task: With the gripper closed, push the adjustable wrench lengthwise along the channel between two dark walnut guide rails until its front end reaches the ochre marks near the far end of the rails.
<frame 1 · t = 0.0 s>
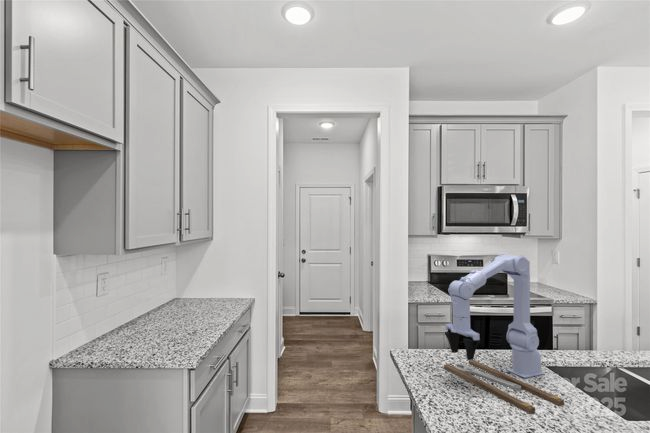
hand: (462, 355, 128), 10 cm above the countertop, tool pointing down, fingers open, 7 cm apart
guide channel: (496, 384, 128), on the countertop
adjustable wrench: (484, 380, 133), on the countertop
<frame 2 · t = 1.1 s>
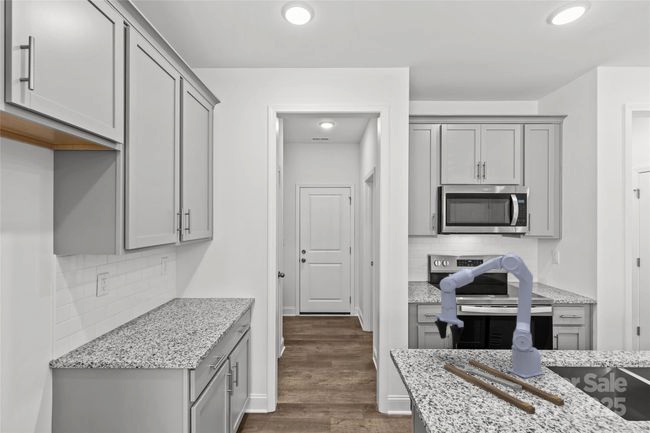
hand: (449, 340, 150), 8 cm above the countertop, tool pointing down, fingers open, 7 cm apart
nothing on the countertop moved.
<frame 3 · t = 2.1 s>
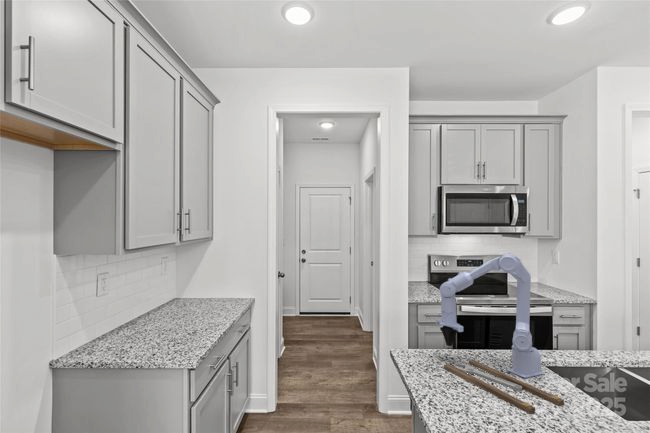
hand: (449, 345, 150), 7 cm above the countertop, tool pointing down, fingers closed
nothing on the countertop moved.
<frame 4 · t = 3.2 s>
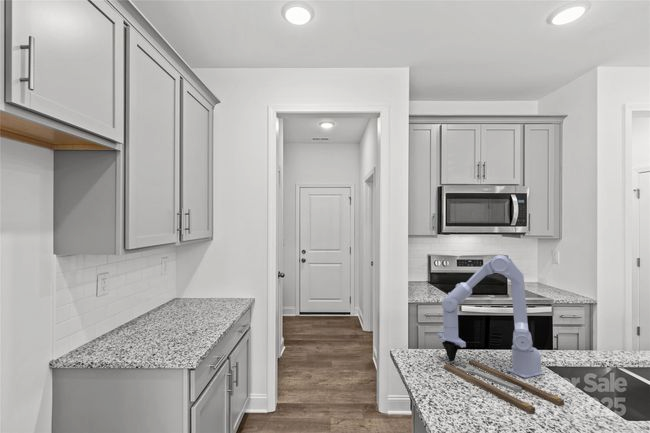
hand: (451, 360, 149), 1 cm above the countertop, tool pointing down, fingers closed
nothing on the countertop moved.
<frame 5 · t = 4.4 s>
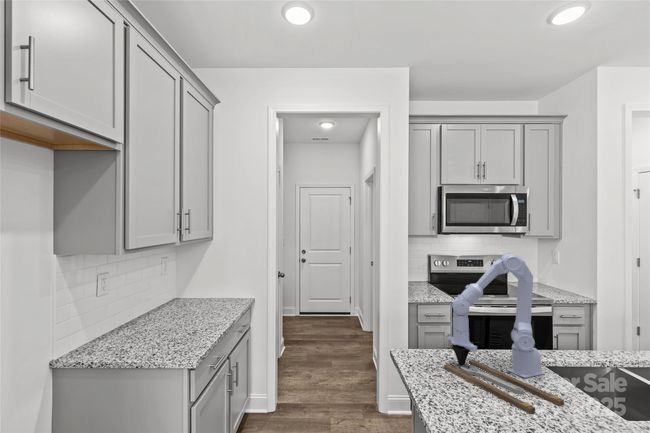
hand: (461, 365, 144), 1 cm above the countertop, tool pointing down, fingers closed
adjustable wrench: (488, 381, 131), on the countertop, touching gripper
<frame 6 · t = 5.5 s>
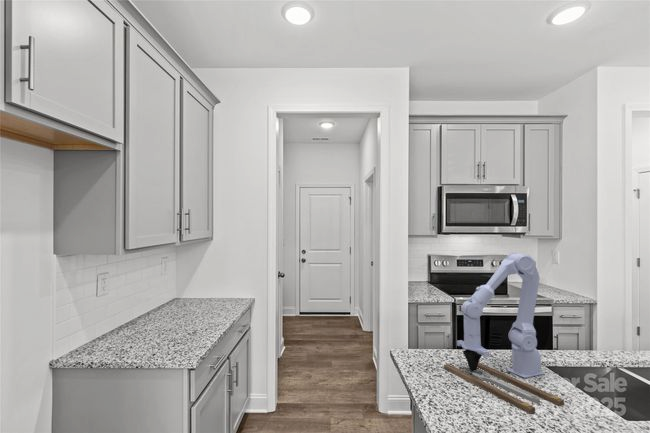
hand: (473, 370, 138), 1 cm above the countertop, tool pointing down, fingers closed
adjustable wrench: (501, 388, 126), on the countertop, touching gripper
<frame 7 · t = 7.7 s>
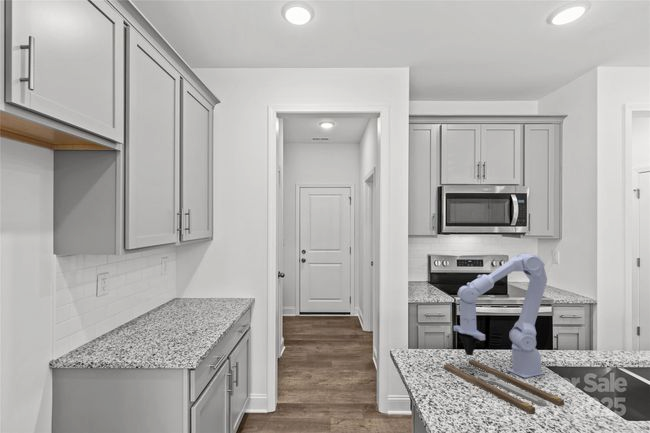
hand: (469, 354, 140), 6 cm above the countertop, tool pointing down, fingers closed
adjustable wrench: (507, 391, 124), on the countertop
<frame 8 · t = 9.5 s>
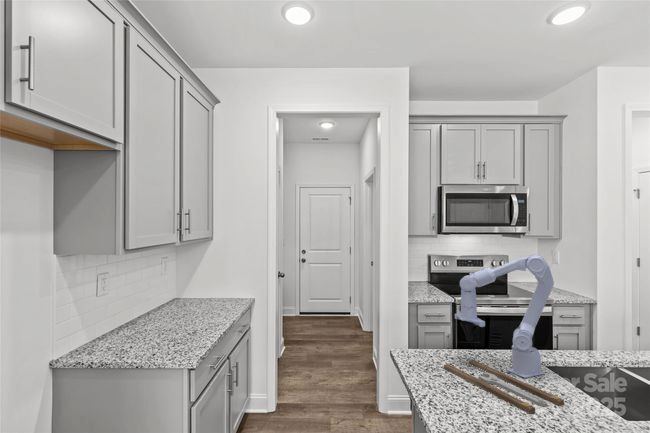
hand: (469, 340, 147), 9 cm above the countertop, tool pointing down, fingers closed
nothing on the countertop moved.
at the end: adjustable wrench 0.4 cm from the target spot, on the countertop; adjustable wrench moved 10.9 cm from its start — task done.
